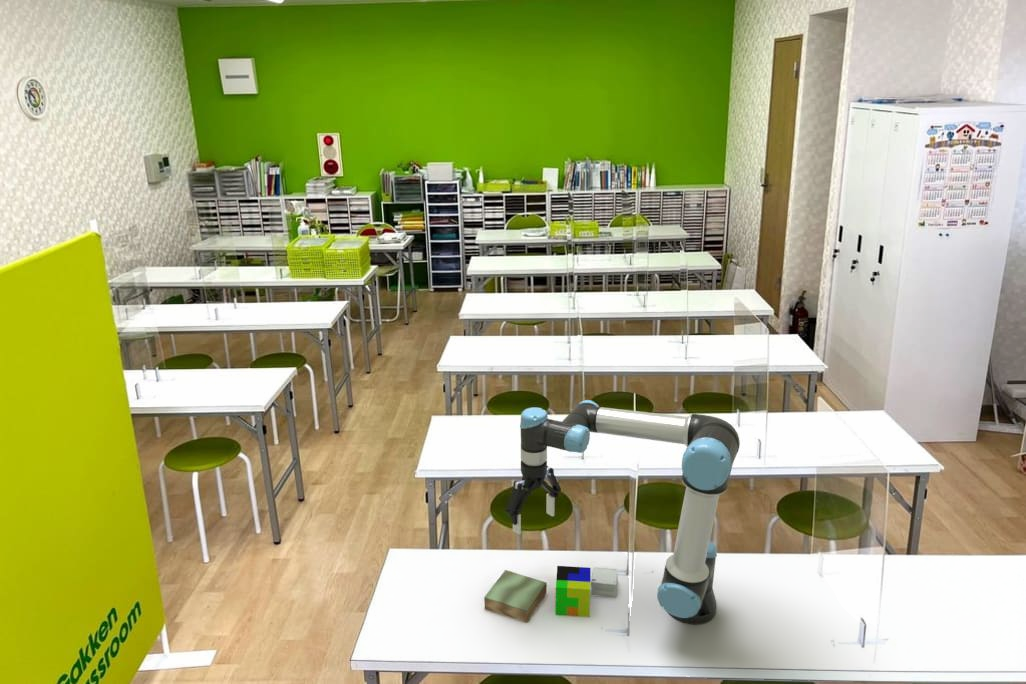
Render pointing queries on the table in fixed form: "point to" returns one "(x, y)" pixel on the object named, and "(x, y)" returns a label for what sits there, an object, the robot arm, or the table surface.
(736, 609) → the table surface
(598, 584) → the small box
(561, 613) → the puzzle toy
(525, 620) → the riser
